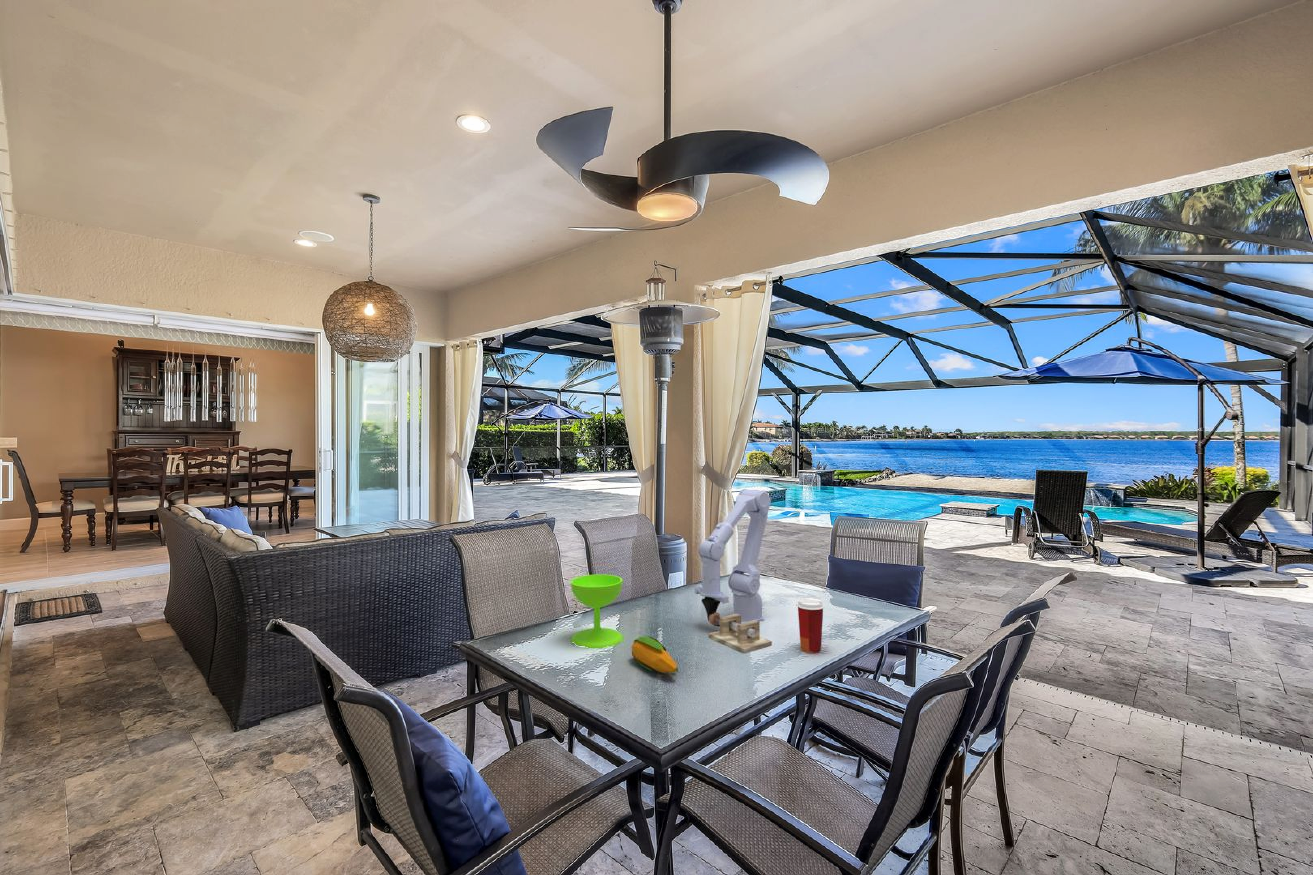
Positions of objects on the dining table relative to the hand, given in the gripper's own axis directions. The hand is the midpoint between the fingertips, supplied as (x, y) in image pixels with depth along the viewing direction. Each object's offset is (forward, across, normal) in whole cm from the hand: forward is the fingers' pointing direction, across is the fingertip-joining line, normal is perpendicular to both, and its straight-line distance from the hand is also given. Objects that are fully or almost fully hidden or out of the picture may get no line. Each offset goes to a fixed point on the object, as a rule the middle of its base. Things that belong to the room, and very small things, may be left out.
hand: (711, 620), depth 182 cm
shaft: (+1, +10, 0) cm, 10 cm away
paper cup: (+3, +30, +12) cm, 33 cm away
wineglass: (+3, -14, -34) cm, 37 cm away
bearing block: (+3, +13, 0) cm, 13 cm away
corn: (+3, +16, -32) cm, 36 cm away
